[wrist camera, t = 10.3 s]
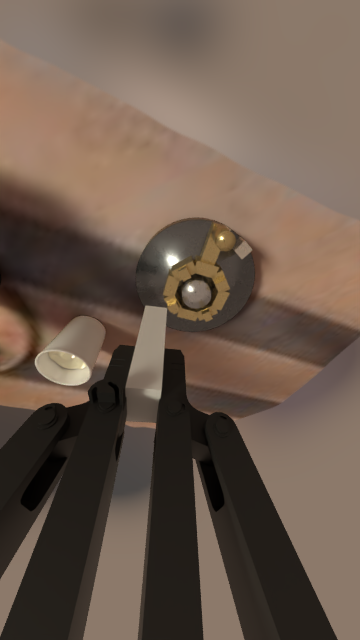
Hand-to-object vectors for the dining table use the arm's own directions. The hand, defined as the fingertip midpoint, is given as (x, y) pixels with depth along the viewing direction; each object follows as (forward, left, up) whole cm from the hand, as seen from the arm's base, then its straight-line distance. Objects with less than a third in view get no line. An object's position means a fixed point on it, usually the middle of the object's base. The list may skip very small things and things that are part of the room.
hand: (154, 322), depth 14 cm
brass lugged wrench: (+7, -3, -21) cm, 22 cm away
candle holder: (-13, -24, -25) cm, 37 cm away
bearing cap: (+7, -5, -25) cm, 26 cm away
